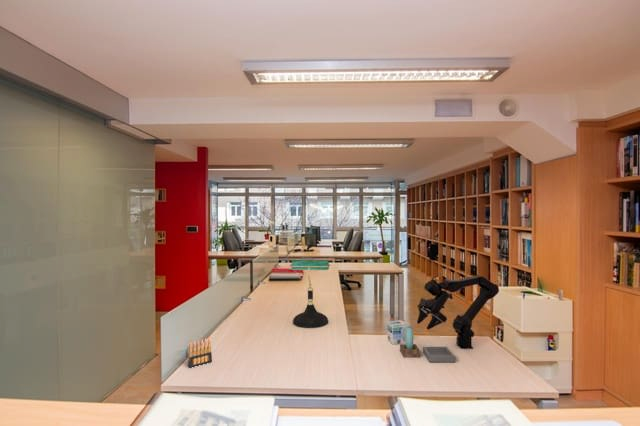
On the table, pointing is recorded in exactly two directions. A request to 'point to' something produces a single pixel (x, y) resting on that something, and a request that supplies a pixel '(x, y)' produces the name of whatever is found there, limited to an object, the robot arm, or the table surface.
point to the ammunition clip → (199, 353)
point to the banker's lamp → (310, 296)
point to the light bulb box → (397, 331)
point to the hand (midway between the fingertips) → (422, 326)
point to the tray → (438, 355)
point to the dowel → (409, 338)
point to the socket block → (409, 351)
